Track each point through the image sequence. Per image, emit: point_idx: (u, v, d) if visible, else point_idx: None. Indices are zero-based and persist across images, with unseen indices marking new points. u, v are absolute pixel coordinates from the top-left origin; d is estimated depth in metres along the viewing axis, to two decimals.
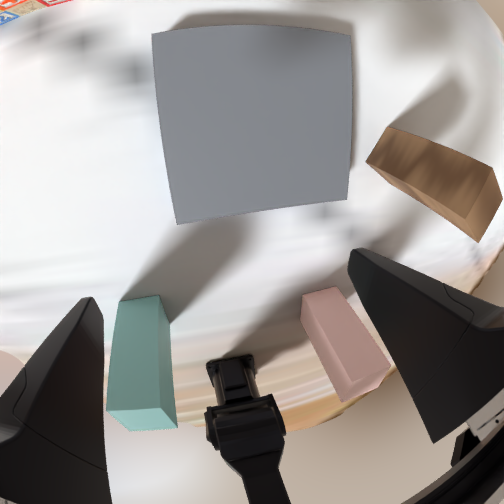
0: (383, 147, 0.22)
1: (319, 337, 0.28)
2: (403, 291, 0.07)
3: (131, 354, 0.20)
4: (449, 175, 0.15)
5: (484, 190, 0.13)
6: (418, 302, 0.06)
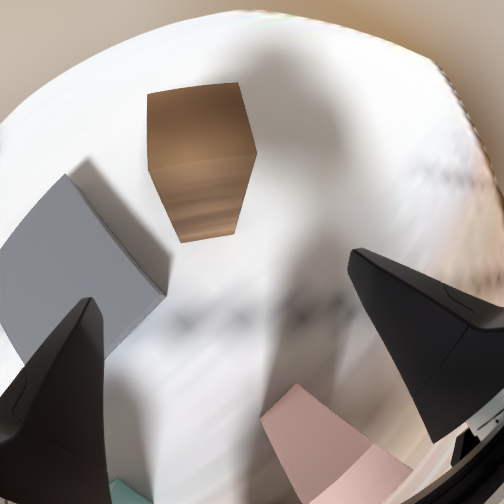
0: None
1: None
2: (403, 291, 0.07)
3: None
4: None
5: (155, 117, 0.11)
6: (418, 302, 0.06)
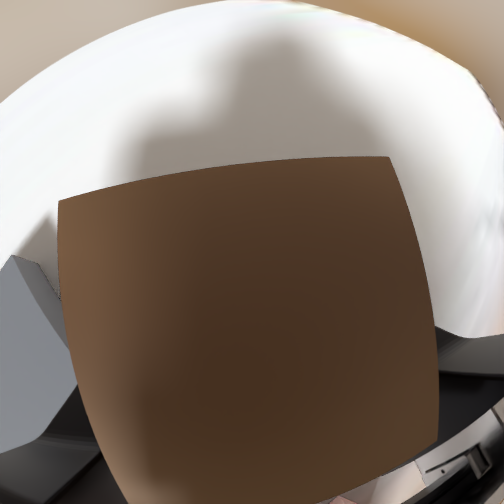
0: None
1: None
2: None
3: None
4: None
5: (99, 343, 0.02)
6: None
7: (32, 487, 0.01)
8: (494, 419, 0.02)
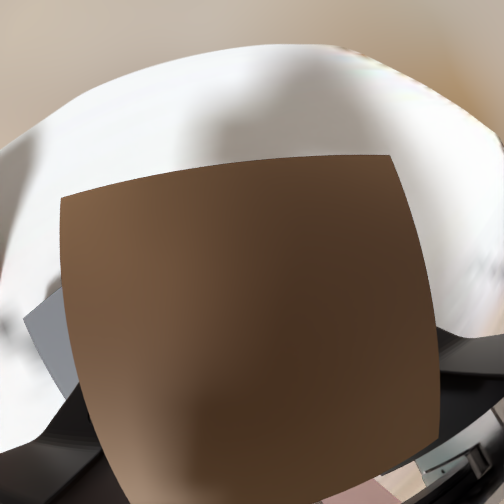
0: None
1: None
2: None
3: None
4: None
5: (99, 340, 0.02)
6: None
7: (32, 487, 0.01)
8: (494, 419, 0.02)
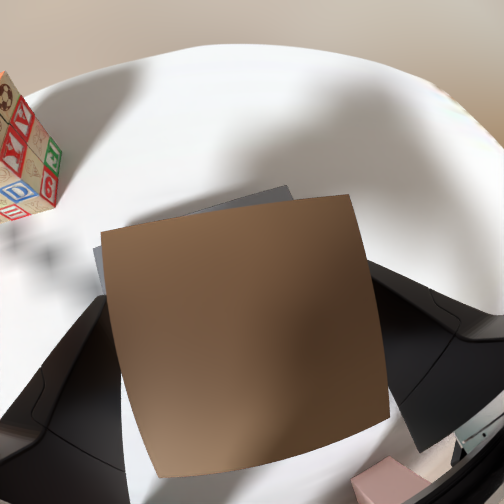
0: None
1: None
2: (387, 297, 0.07)
3: None
4: None
5: (136, 333, 0.04)
6: (402, 309, 0.06)
7: None
8: None
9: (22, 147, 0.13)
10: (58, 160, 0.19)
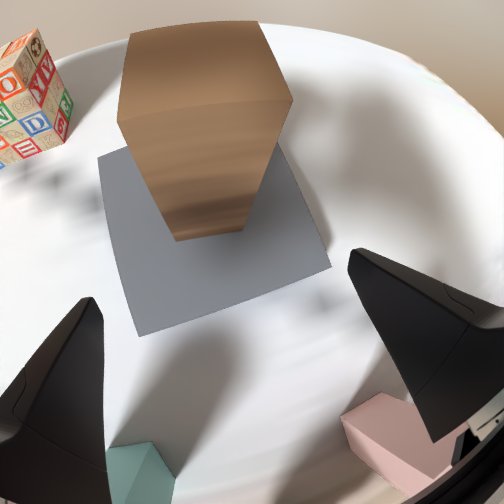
0: None
1: (374, 453, 0.14)
2: (403, 291, 0.07)
3: None
4: None
5: (138, 55, 0.06)
6: (418, 302, 0.06)
7: None
8: None
9: (44, 87, 0.15)
10: (70, 108, 0.21)
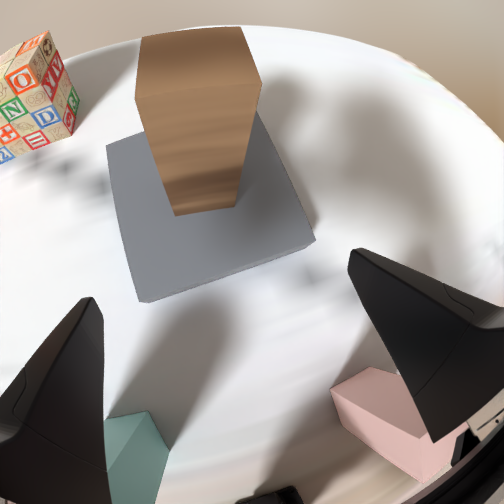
0: None
1: (362, 422, 0.16)
2: (403, 291, 0.07)
3: None
4: None
5: (148, 54, 0.08)
6: (418, 302, 0.06)
7: None
8: None
9: (55, 84, 0.17)
10: (76, 104, 0.24)
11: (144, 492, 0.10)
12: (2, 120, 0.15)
